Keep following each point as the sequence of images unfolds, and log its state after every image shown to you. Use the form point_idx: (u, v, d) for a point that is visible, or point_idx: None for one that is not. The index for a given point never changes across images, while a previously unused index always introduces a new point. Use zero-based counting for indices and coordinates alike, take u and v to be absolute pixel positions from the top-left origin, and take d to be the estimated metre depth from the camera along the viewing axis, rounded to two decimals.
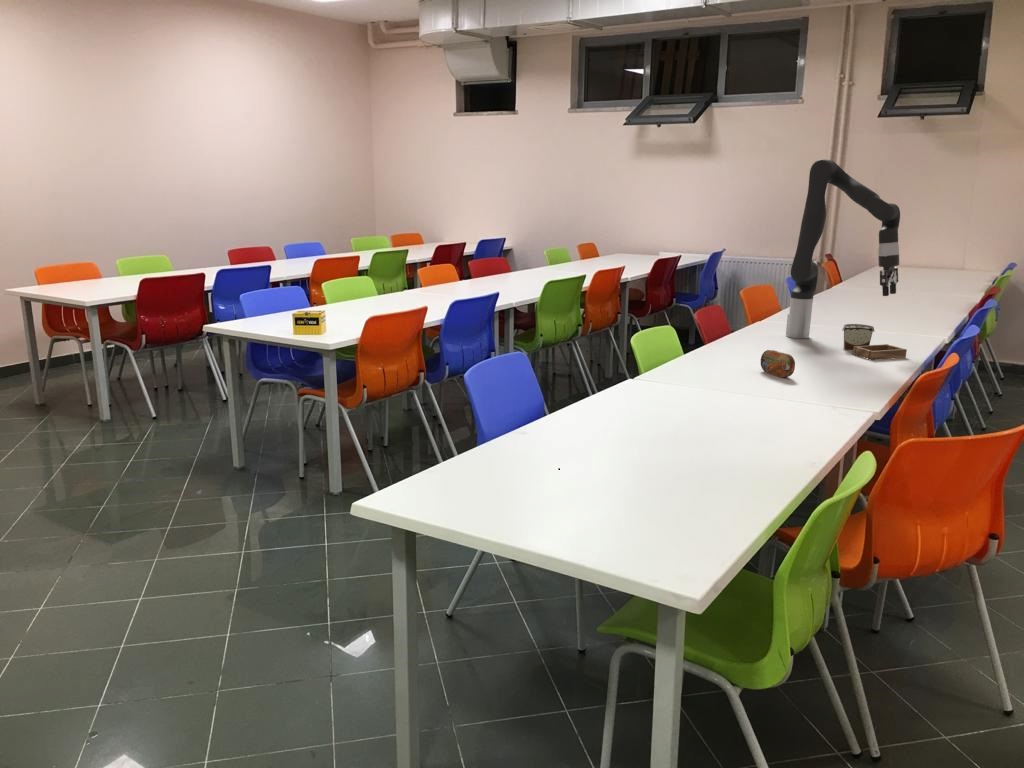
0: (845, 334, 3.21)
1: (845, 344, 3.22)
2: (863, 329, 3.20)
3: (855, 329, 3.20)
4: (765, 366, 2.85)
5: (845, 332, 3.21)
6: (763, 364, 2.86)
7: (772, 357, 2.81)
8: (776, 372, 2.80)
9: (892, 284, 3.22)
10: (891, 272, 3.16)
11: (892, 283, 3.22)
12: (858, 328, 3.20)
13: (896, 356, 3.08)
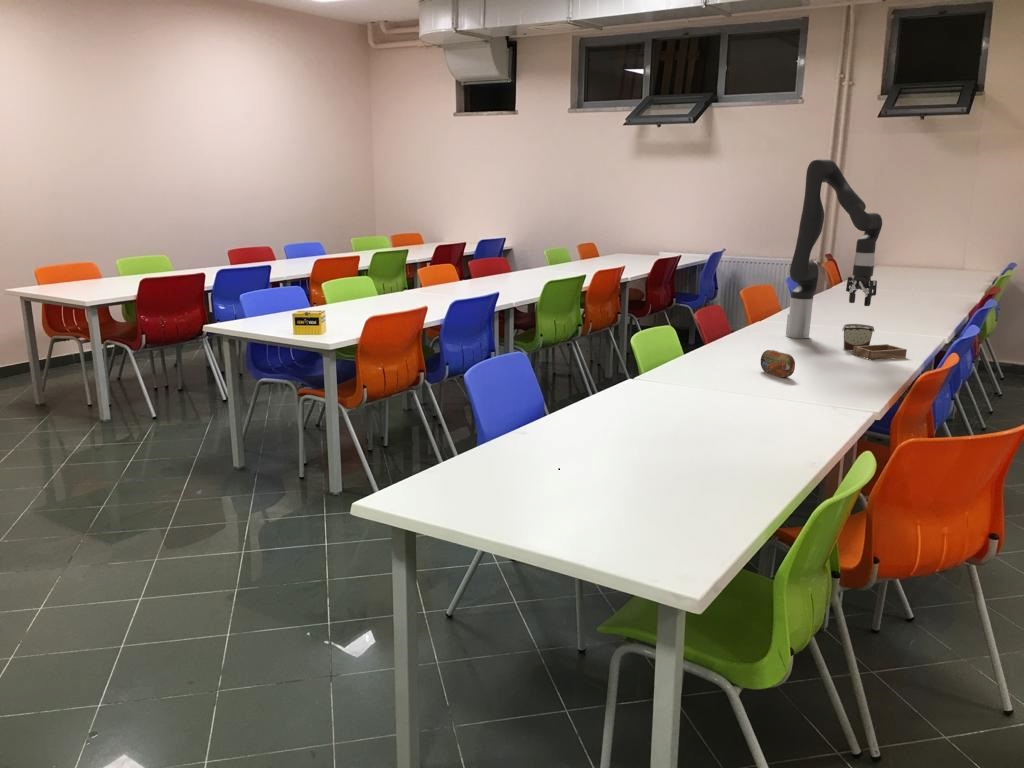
0: (845, 334, 3.21)
1: (845, 344, 3.22)
2: (863, 329, 3.20)
3: (855, 329, 3.20)
4: (765, 366, 2.85)
5: (845, 332, 3.21)
6: (763, 364, 2.86)
7: (772, 357, 2.81)
8: (776, 372, 2.80)
9: (853, 293, 3.23)
10: None
11: (853, 292, 3.23)
12: (858, 328, 3.20)
13: (896, 356, 3.08)
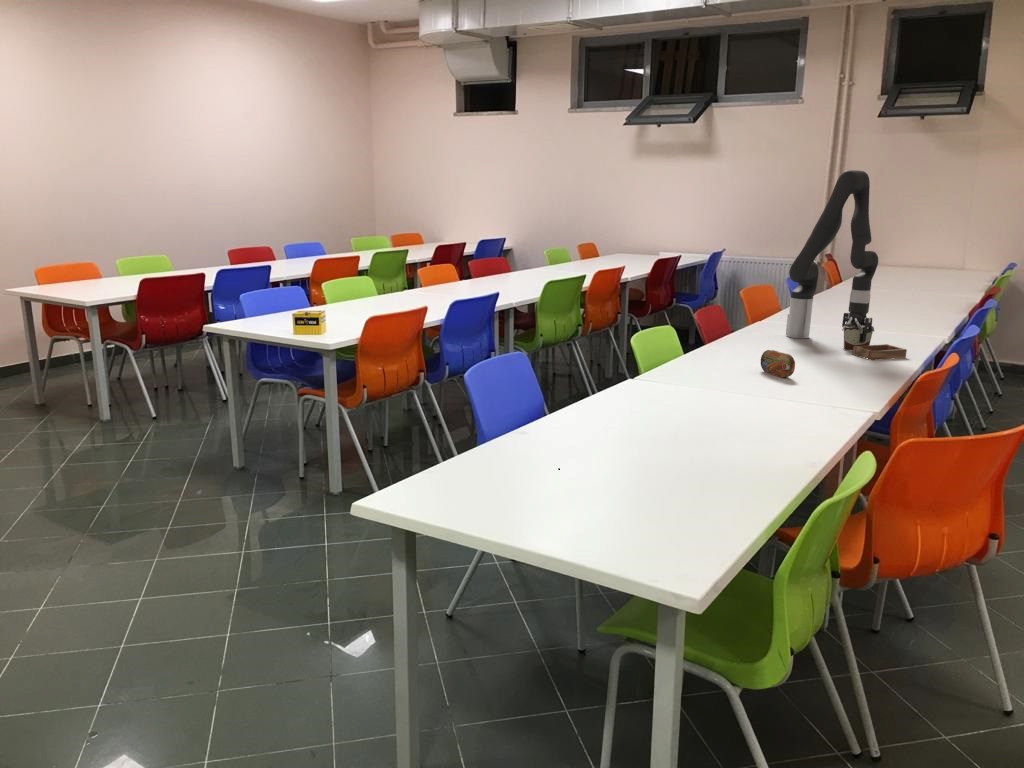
0: (845, 334, 3.21)
1: (845, 344, 3.22)
2: (863, 329, 3.20)
3: (855, 329, 3.20)
4: (765, 366, 2.85)
5: (845, 332, 3.21)
6: (763, 364, 2.86)
7: (772, 357, 2.81)
8: (776, 372, 2.80)
9: None
10: None
11: None
12: (858, 328, 3.20)
13: (896, 356, 3.08)
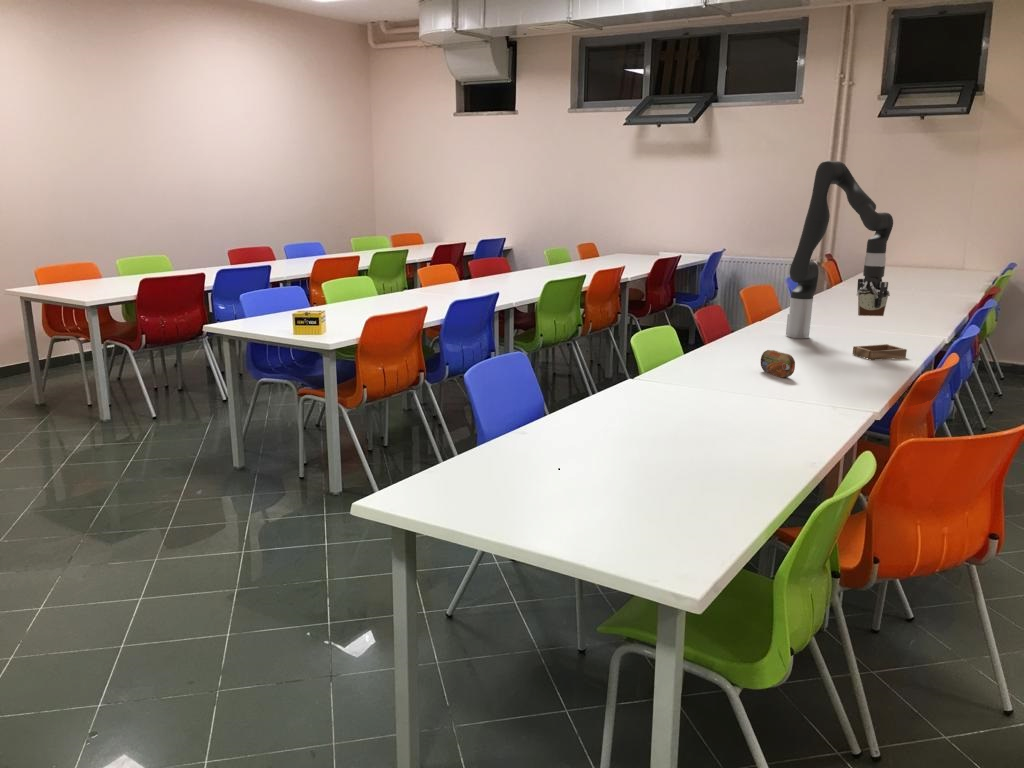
0: (860, 299, 3.12)
1: (860, 309, 3.13)
2: (878, 293, 3.11)
3: (870, 294, 3.12)
4: (765, 366, 2.85)
5: (860, 297, 3.12)
6: (763, 364, 2.86)
7: (772, 357, 2.81)
8: (776, 372, 2.80)
9: None
10: None
11: None
12: None
13: (896, 356, 3.08)
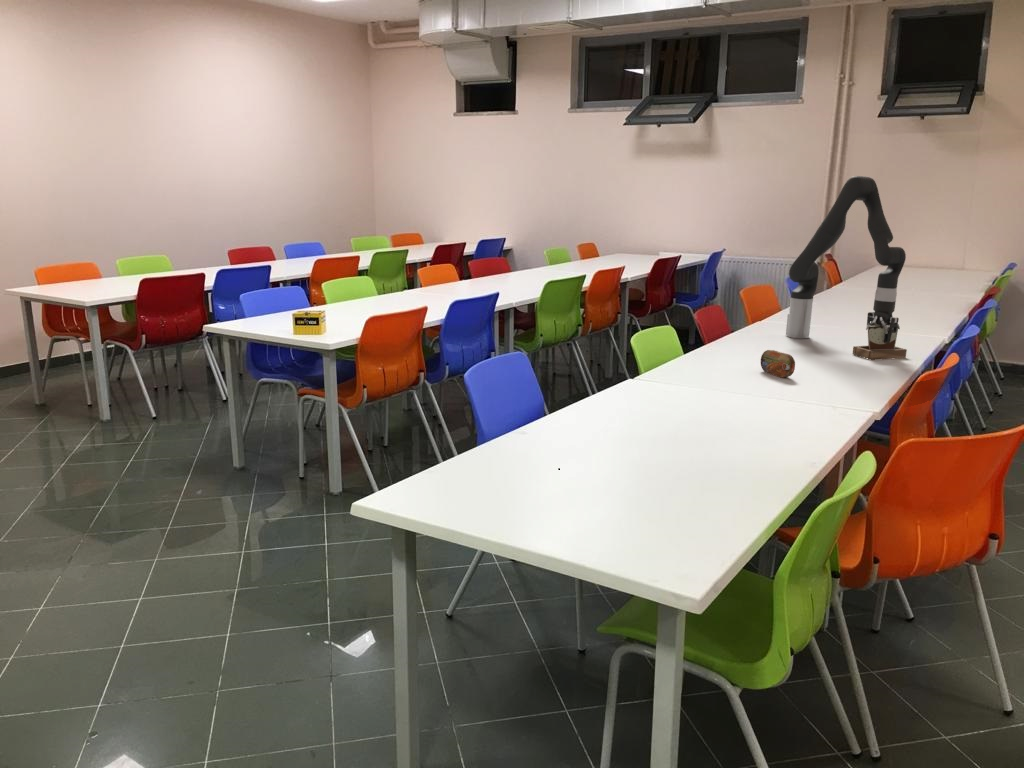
0: (869, 333, 3.08)
1: (870, 344, 3.09)
2: None
3: (879, 328, 3.07)
4: (765, 366, 2.85)
5: (869, 331, 3.08)
6: (763, 364, 2.86)
7: (772, 357, 2.81)
8: (776, 372, 2.80)
9: None
10: None
11: None
12: (882, 326, 3.07)
13: (896, 356, 3.08)
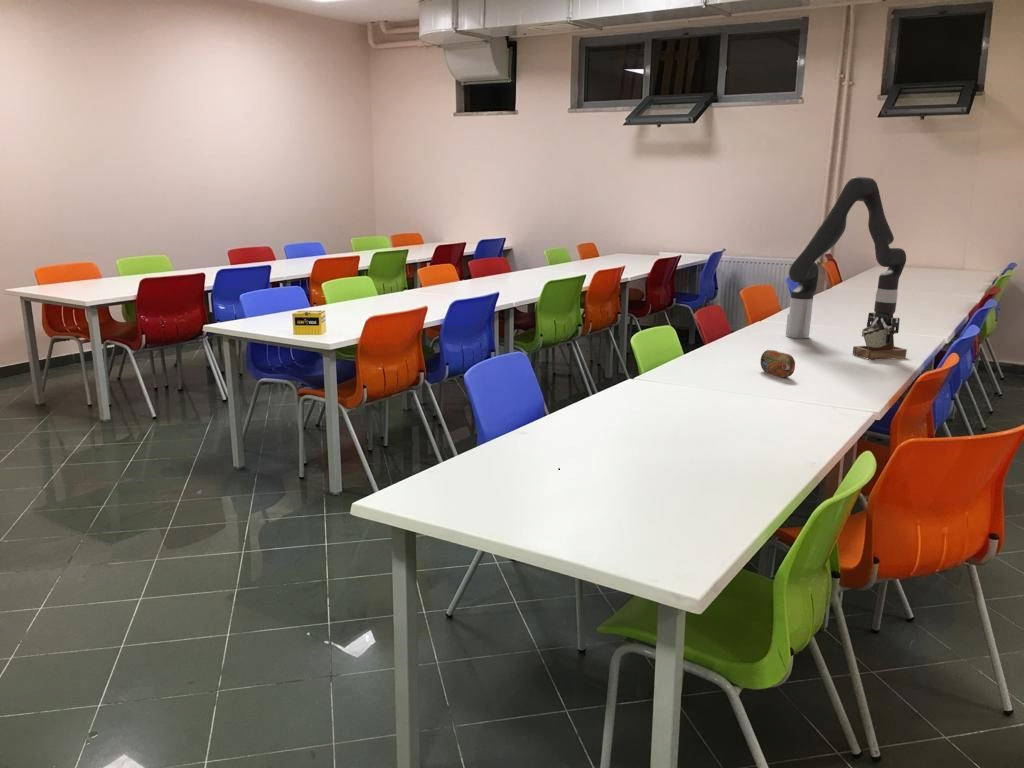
0: (866, 339, 3.08)
1: (869, 349, 3.09)
2: (883, 329, 3.07)
3: (875, 332, 3.07)
4: (765, 366, 2.85)
5: (866, 337, 3.08)
6: (763, 364, 2.86)
7: (772, 357, 2.81)
8: (776, 372, 2.80)
9: None
10: None
11: None
12: (877, 330, 3.07)
13: (896, 356, 3.08)
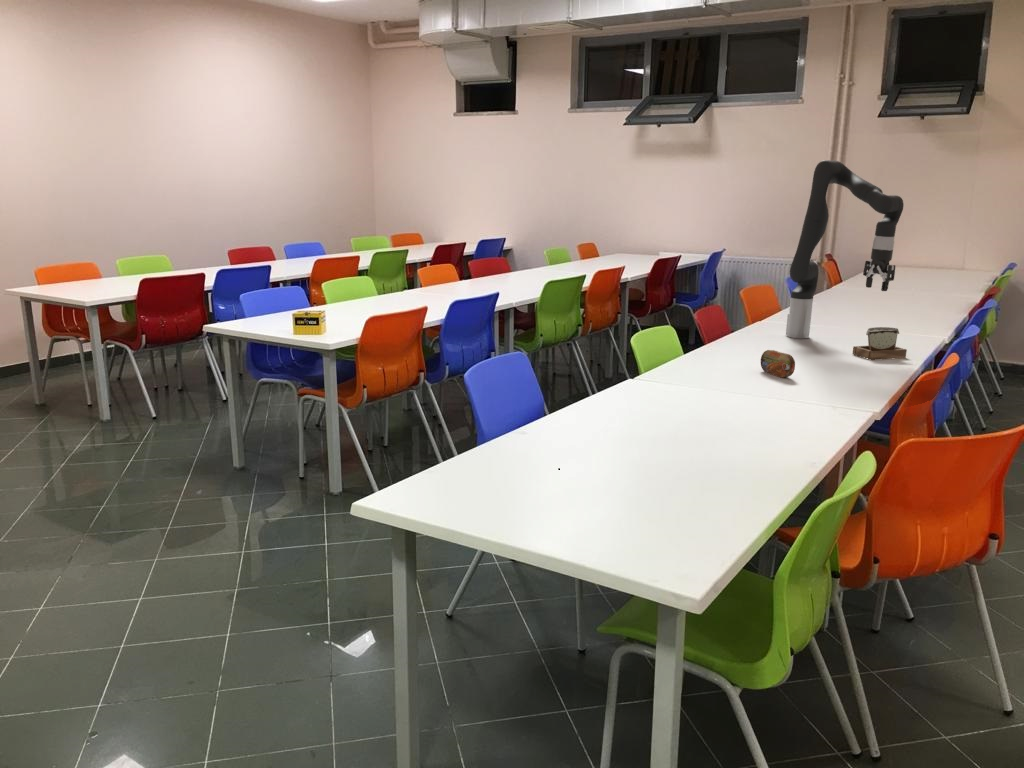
0: (870, 338, 3.08)
1: (871, 349, 3.09)
2: (888, 332, 3.08)
3: (880, 332, 3.08)
4: (765, 366, 2.85)
5: (870, 336, 3.08)
6: (763, 364, 2.86)
7: (772, 357, 2.81)
8: (776, 372, 2.80)
9: (870, 278, 3.16)
10: None
11: (870, 276, 3.16)
12: (883, 331, 3.08)
13: (896, 356, 3.08)
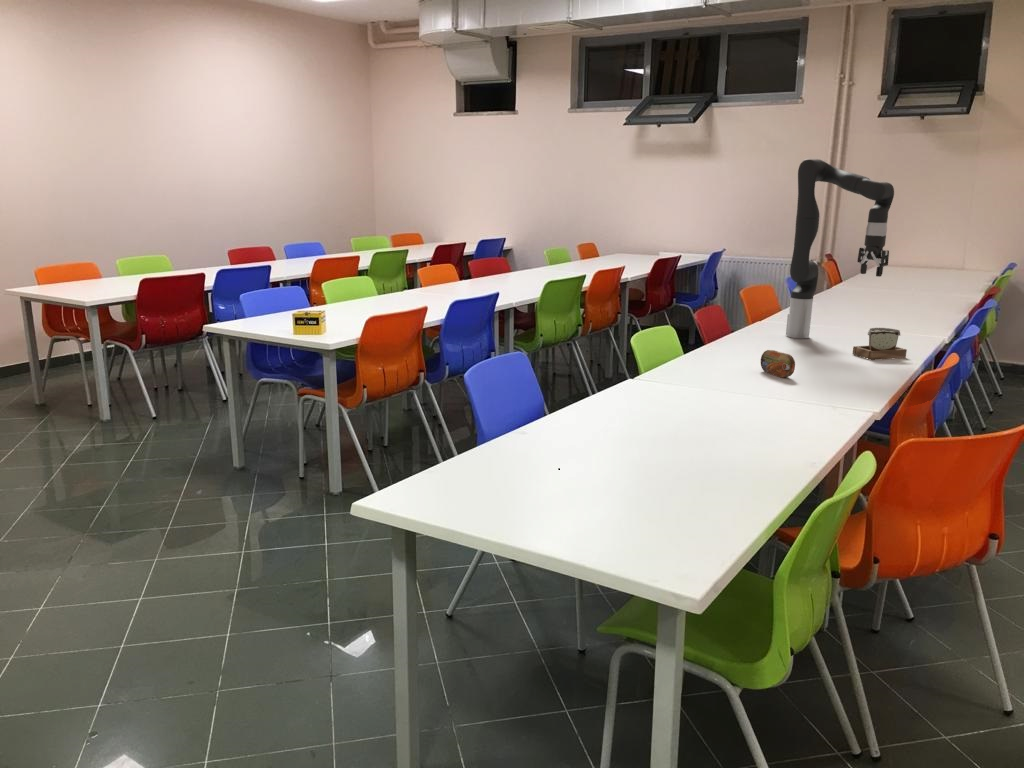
0: (871, 339, 3.08)
1: (871, 349, 3.09)
2: (889, 333, 3.08)
3: (881, 333, 3.08)
4: (765, 366, 2.85)
5: (871, 337, 3.08)
6: (763, 364, 2.86)
7: (772, 357, 2.81)
8: (776, 372, 2.80)
9: (864, 264, 3.22)
10: None
11: (864, 263, 3.21)
12: (884, 332, 3.08)
13: (896, 356, 3.08)
